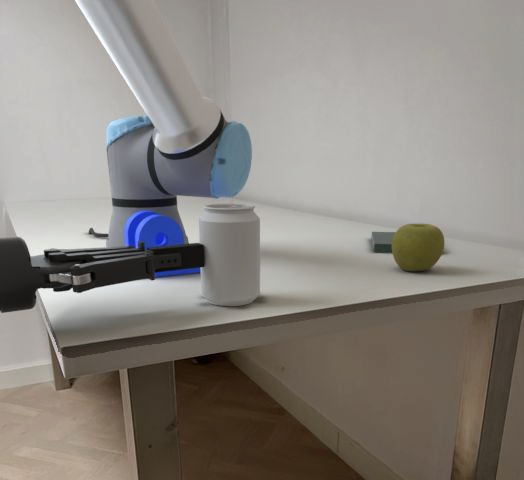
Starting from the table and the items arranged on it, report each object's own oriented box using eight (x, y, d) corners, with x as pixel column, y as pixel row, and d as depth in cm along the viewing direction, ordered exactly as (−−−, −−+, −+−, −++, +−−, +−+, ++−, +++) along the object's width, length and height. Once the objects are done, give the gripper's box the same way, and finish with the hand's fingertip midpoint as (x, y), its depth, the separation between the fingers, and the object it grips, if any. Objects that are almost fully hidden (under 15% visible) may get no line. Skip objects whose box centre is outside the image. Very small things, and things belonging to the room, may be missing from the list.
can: (202, 293, 74) (199, 201, 70) (258, 292, 75) (258, 201, 71) (200, 308, 67) (196, 207, 63) (261, 307, 68) (261, 207, 64)
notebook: (373, 252, 104) (374, 243, 103) (371, 239, 119) (371, 231, 118) (439, 254, 102) (440, 245, 102) (428, 240, 117) (429, 232, 116)
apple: (445, 275, 85) (450, 228, 82) (391, 274, 86) (395, 227, 83) (436, 266, 92) (441, 222, 89) (387, 264, 93) (391, 221, 90)
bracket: (141, 278, 83) (137, 217, 80) (127, 268, 90) (122, 211, 87) (249, 267, 91) (248, 211, 88) (228, 258, 98) (227, 206, 95)
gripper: (-13, 298, 62) (181, 275, 74) (3, 329, 52) (226, 296, 63) (-25, 231, 60) (178, 217, 71) (-11, 249, 49) (225, 230, 61)
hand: (201, 254), depth 67 cm, fingers closed
